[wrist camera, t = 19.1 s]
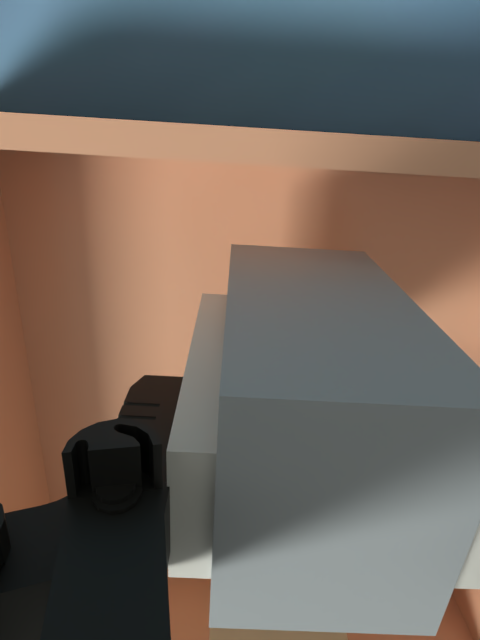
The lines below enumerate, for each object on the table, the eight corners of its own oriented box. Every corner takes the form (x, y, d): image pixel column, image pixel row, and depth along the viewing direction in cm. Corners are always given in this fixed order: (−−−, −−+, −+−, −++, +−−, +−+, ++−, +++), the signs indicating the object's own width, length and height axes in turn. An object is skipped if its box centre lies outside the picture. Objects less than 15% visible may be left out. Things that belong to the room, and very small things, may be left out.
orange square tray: (451, 578, 23) (502, 687, 19) (48, 563, 23) (0, 671, 18) (610, 151, 15) (777, 160, 10) (-30, 110, 14) (-157, 102, 10)
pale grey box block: (340, 387, 15) (435, 636, 8) (224, 381, 15) (209, 627, 8) (364, 251, 13) (523, 410, 6) (231, 244, 13) (219, 395, 6)
